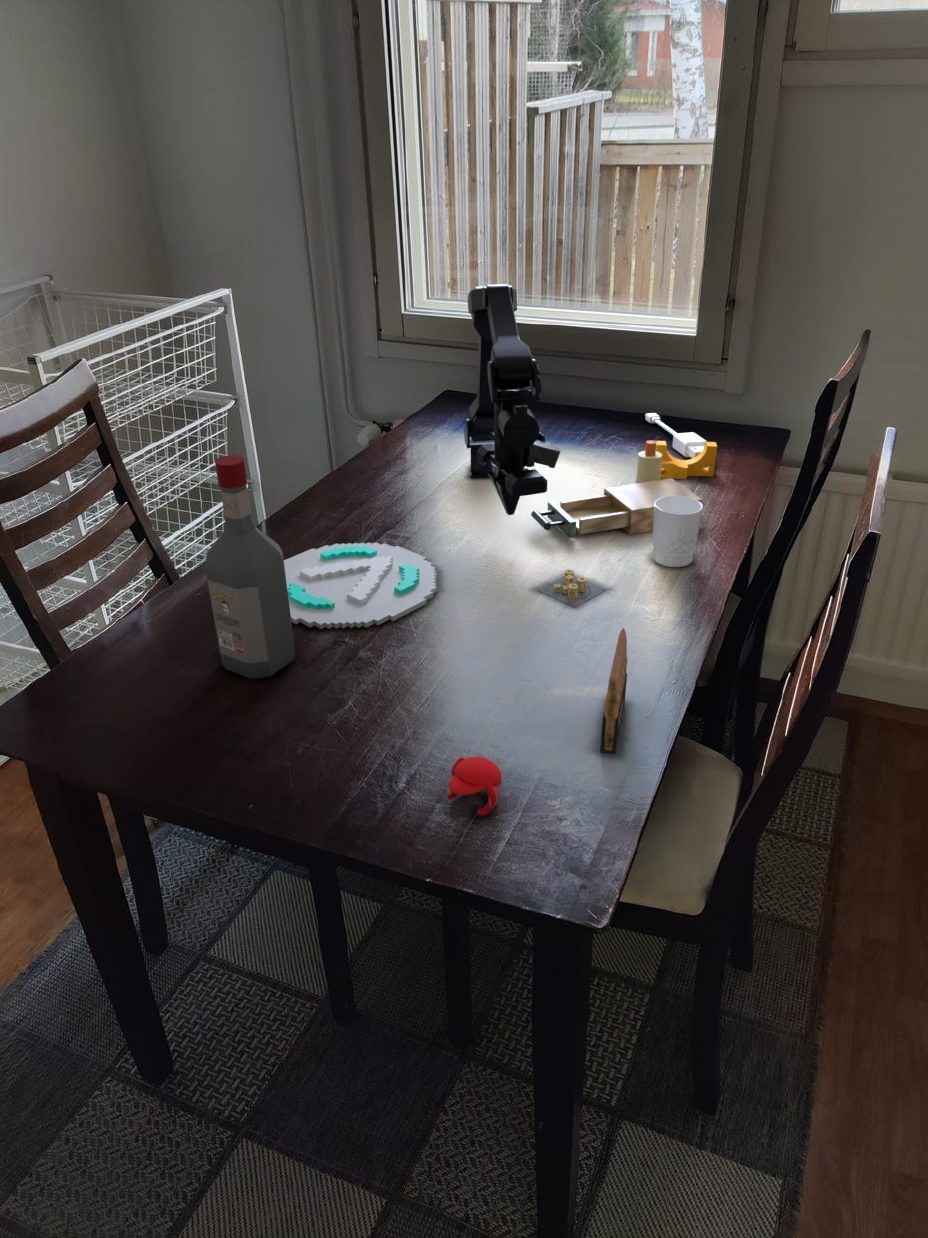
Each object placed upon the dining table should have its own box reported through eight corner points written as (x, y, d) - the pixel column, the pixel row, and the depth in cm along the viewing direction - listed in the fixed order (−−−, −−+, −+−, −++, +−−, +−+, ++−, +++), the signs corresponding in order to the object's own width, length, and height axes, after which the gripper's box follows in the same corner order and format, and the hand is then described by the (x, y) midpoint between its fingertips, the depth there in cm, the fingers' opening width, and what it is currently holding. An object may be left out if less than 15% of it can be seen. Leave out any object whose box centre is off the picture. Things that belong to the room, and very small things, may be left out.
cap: (457, 777, 108) (456, 736, 105) (507, 785, 107) (507, 744, 104) (438, 823, 102) (437, 781, 99) (491, 832, 100) (491, 789, 97)
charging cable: (657, 420, 224) (658, 407, 222) (714, 461, 195) (716, 446, 194) (638, 422, 223) (638, 408, 221) (692, 463, 195) (693, 448, 193)
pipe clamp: (654, 477, 189) (657, 447, 186) (653, 470, 193) (656, 440, 190) (714, 479, 188) (718, 449, 185) (711, 471, 192) (715, 441, 188)
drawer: (548, 542, 162) (548, 525, 160) (526, 520, 170) (527, 504, 168) (636, 527, 166) (638, 511, 165) (611, 507, 174) (613, 491, 173)
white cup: (700, 553, 159) (707, 499, 154) (690, 572, 152) (696, 517, 147) (655, 545, 161) (660, 492, 156) (643, 564, 155) (648, 509, 150)
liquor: (261, 685, 126) (230, 478, 111) (213, 666, 130) (176, 464, 115) (305, 654, 132) (281, 455, 117) (258, 637, 137) (229, 443, 122)
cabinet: (630, 534, 166) (632, 510, 163) (602, 510, 175) (604, 487, 173) (699, 522, 170) (702, 499, 167) (668, 500, 179) (671, 477, 176)
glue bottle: (645, 499, 180) (650, 447, 174) (630, 491, 183) (634, 440, 178) (663, 493, 182) (668, 442, 176) (647, 486, 185) (652, 436, 180)
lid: (471, 580, 151) (471, 571, 150) (340, 648, 134) (339, 638, 133) (358, 533, 168) (357, 525, 167) (229, 587, 150) (227, 579, 149)
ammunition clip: (610, 702, 121) (616, 623, 115) (624, 704, 121) (631, 625, 114) (600, 752, 112) (606, 669, 106) (615, 754, 112) (622, 671, 106)
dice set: (568, 578, 151) (568, 568, 150) (592, 589, 148) (593, 578, 147) (548, 589, 148) (548, 578, 147) (572, 600, 145) (573, 589, 144)
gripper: (578, 440, 149) (574, 528, 157) (534, 407, 164) (532, 489, 172) (514, 448, 146) (513, 538, 154) (475, 414, 161) (476, 497, 169)
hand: (510, 514), depth 162 cm, fingers closed
